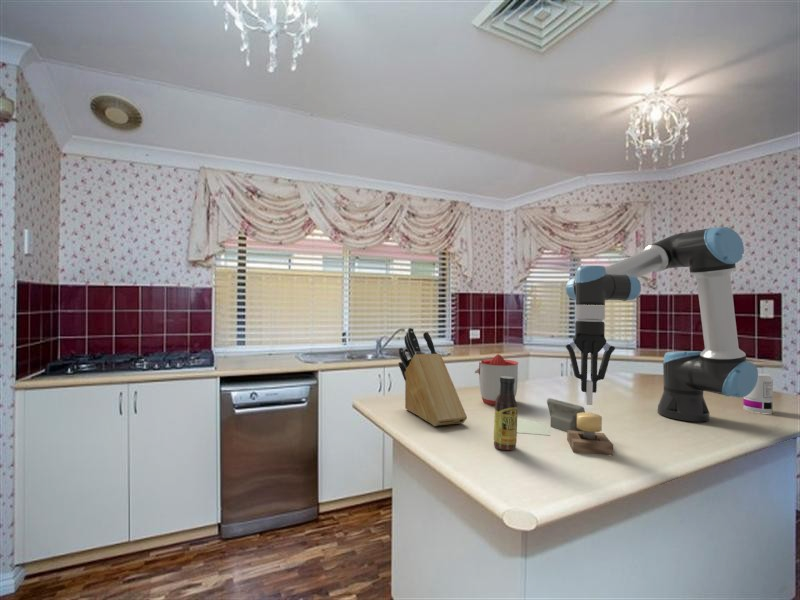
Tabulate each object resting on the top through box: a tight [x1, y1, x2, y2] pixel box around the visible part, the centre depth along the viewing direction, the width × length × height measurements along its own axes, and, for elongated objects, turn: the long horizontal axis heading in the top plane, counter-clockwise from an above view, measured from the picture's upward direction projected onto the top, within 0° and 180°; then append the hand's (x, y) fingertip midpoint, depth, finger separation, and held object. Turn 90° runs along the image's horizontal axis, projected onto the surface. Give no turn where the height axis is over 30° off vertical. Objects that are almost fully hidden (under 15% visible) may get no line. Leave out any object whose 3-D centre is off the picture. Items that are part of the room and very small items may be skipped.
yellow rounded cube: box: [577, 412, 603, 439], centre depth 113 cm, size 6×6×6 cm
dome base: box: [566, 430, 614, 457], centre depth 113 cm, size 10×10×3 cm
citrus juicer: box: [474, 353, 519, 407], centre depth 162 cm, size 16×17×20 cm
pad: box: [517, 417, 551, 437], centre depth 133 cm, size 13×17×1 cm
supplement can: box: [742, 372, 774, 413], centre depth 149 cm, size 8×8×15 cm
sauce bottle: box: [493, 376, 518, 451], centre depth 113 cm, size 7×6×20 cm
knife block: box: [398, 327, 468, 427], centre depth 146 cm, size 11×35×31 cm, turn 23°
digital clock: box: [546, 397, 586, 433], centre depth 130 cm, size 14×8×9 cm, turn 19°
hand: (588, 403), depth 113 cm, fingers closed
